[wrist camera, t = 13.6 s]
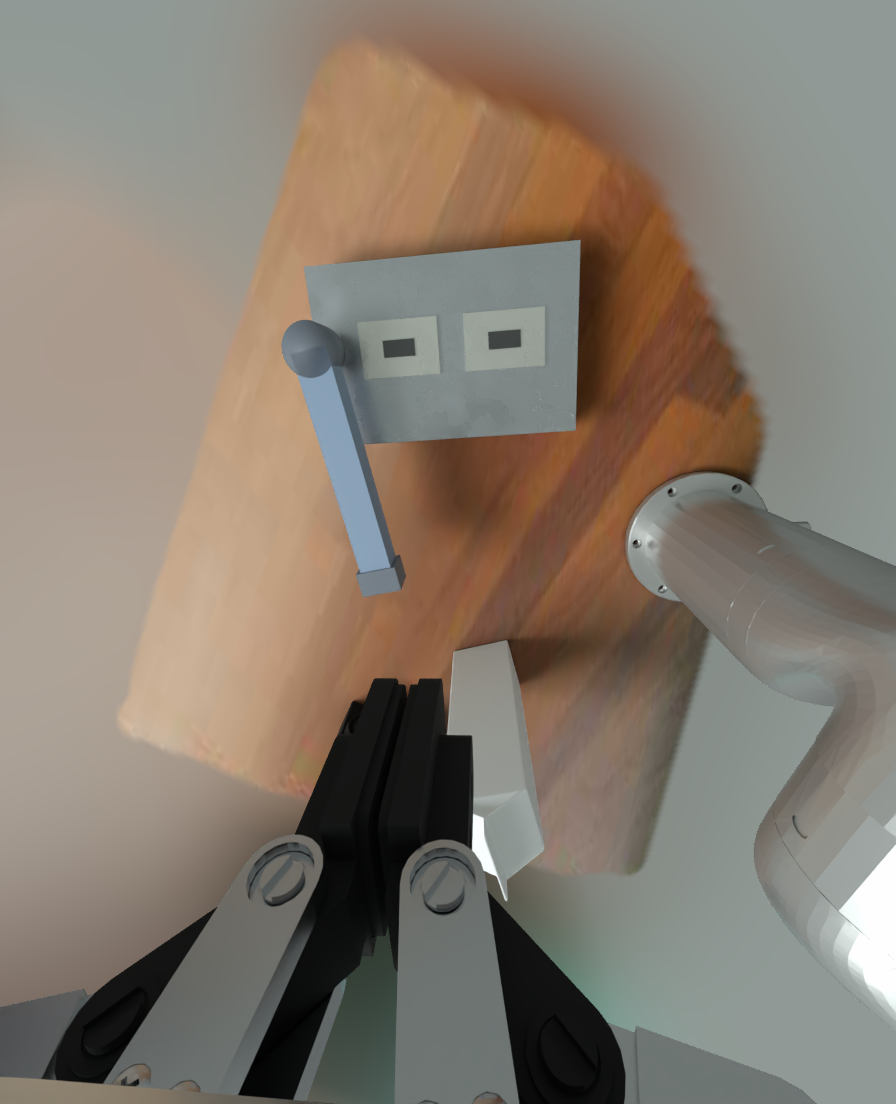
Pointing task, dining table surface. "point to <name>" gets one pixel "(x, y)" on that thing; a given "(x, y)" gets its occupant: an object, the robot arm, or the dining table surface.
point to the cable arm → (343, 452)
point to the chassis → (456, 340)
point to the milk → (496, 759)
